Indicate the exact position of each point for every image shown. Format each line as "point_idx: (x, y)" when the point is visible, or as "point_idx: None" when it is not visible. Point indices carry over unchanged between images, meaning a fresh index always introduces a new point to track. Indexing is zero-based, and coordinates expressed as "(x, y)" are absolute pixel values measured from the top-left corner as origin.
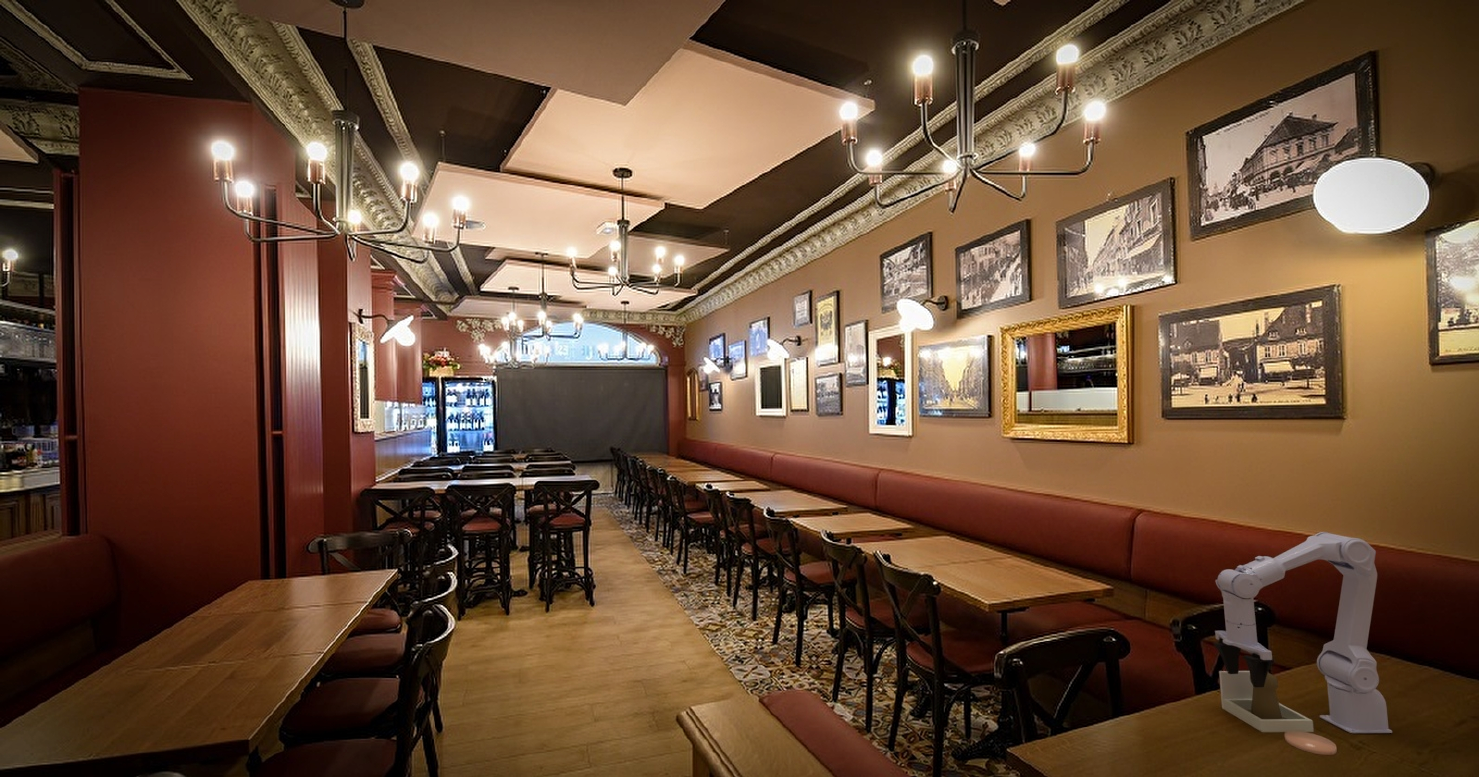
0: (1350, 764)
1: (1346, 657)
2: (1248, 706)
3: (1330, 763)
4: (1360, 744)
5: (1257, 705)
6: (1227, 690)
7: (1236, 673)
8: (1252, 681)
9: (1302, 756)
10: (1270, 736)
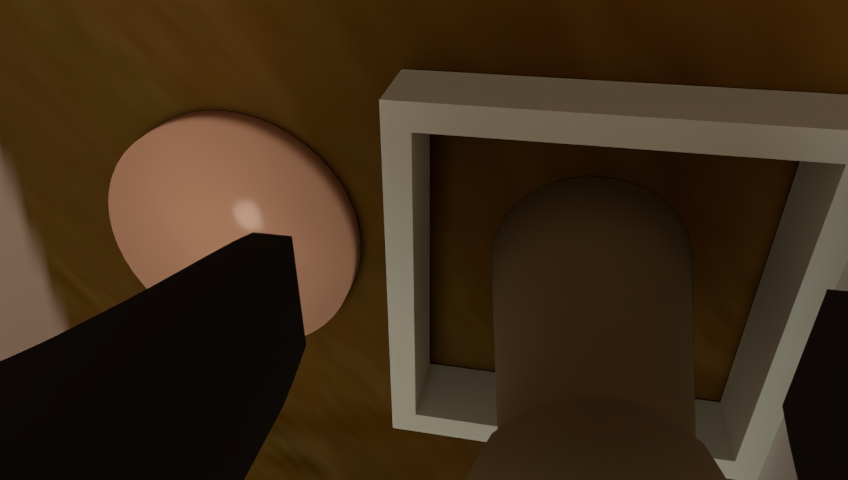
0: (46, 233)
1: None
2: (771, 291)
3: (23, 141)
4: (280, 444)
5: (576, 260)
6: None
7: (791, 391)
8: (231, 260)
9: (67, 48)
10: (335, 73)
